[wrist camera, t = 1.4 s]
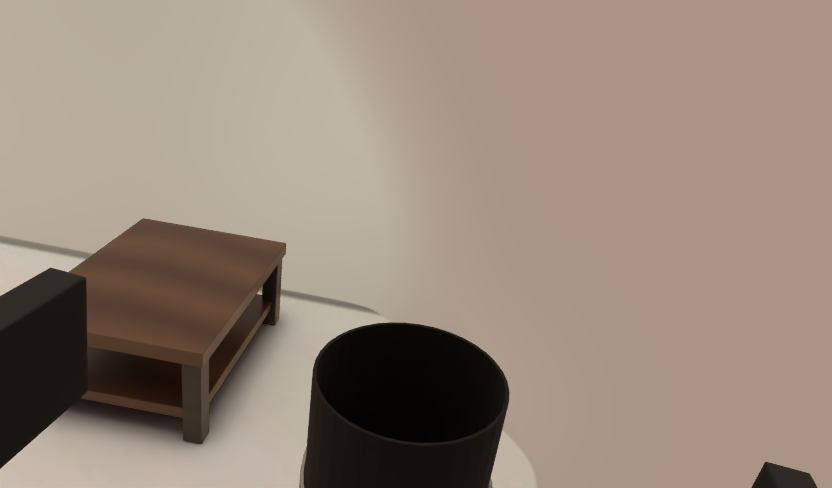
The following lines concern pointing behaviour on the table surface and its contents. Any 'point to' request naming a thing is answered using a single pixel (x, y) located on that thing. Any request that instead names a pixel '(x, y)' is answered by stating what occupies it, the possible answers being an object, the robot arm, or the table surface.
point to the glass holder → (403, 411)
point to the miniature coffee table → (175, 315)
